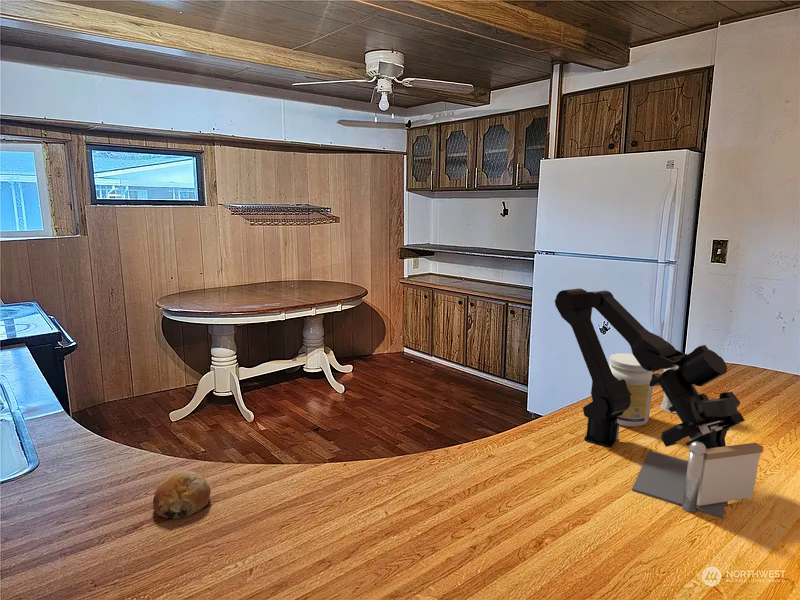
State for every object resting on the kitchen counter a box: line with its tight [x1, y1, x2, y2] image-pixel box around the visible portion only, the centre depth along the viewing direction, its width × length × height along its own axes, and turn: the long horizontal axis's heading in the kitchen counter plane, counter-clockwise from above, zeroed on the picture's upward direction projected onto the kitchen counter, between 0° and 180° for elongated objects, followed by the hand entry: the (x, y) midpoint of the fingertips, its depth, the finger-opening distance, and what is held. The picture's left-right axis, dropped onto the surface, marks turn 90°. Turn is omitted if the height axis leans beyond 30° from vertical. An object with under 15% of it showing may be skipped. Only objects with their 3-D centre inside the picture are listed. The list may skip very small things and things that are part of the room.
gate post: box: [681, 441, 706, 514], centre depth 99 cm, size 3×3×14 cm
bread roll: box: [152, 470, 211, 519], centre depth 98 cm, size 10×10×8 cm
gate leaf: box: [697, 442, 764, 506], centre depth 101 cm, size 13×2×11 cm, turn 105°
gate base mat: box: [631, 450, 726, 519], centre depth 110 cm, size 16×20×1 cm
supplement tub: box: [608, 352, 654, 428], centre depth 140 cm, size 12×12×17 cm
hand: (727, 469), depth 102 cm, fingers closed
